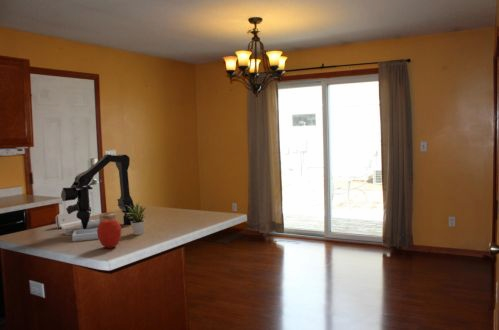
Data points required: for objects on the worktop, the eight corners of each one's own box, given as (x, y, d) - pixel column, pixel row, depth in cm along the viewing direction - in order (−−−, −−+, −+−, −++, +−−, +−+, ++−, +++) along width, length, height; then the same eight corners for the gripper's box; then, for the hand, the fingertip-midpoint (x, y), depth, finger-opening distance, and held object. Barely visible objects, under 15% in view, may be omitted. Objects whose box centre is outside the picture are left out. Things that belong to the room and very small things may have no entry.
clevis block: (116, 227, 227) (115, 212, 227) (116, 230, 219) (115, 214, 219) (66, 232, 219) (65, 216, 219) (65, 235, 211) (63, 219, 211)
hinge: (61, 229, 228) (57, 211, 229) (57, 231, 230) (52, 214, 232) (88, 223, 242) (83, 207, 243) (83, 225, 244) (79, 209, 246)
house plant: (121, 231, 216) (119, 200, 215) (148, 228, 221) (146, 198, 220) (124, 237, 203) (122, 204, 202) (153, 234, 208) (151, 202, 207)
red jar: (93, 249, 183) (91, 218, 182) (108, 243, 192) (106, 214, 191) (112, 251, 179) (110, 219, 178) (127, 245, 188) (125, 215, 187)
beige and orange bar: (105, 225, 223) (104, 218, 223) (105, 227, 219) (104, 220, 219) (81, 228, 219) (80, 220, 219) (80, 229, 216) (80, 222, 215)
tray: (110, 232, 215) (110, 227, 215) (110, 237, 204) (110, 231, 204) (74, 236, 209) (74, 230, 209) (72, 241, 199) (72, 235, 198)
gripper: (68, 197, 223) (70, 225, 224) (64, 202, 206) (66, 233, 207) (90, 195, 227) (92, 223, 228) (88, 200, 209) (90, 230, 210)
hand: (85, 227), depth 218 cm, fingers open, 6 cm apart
